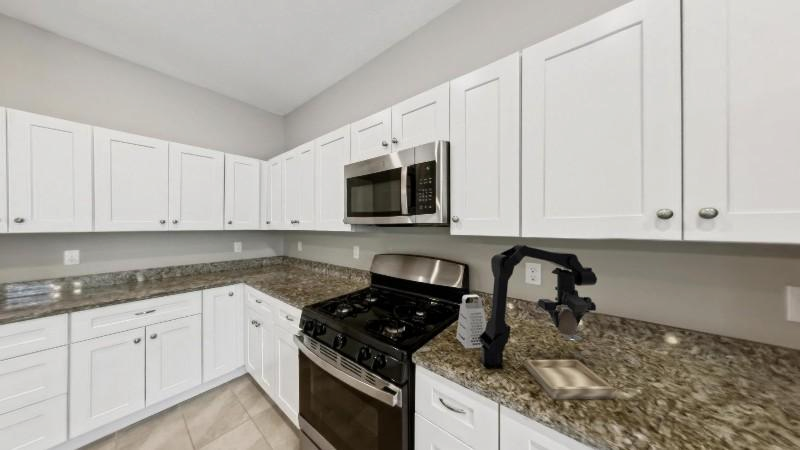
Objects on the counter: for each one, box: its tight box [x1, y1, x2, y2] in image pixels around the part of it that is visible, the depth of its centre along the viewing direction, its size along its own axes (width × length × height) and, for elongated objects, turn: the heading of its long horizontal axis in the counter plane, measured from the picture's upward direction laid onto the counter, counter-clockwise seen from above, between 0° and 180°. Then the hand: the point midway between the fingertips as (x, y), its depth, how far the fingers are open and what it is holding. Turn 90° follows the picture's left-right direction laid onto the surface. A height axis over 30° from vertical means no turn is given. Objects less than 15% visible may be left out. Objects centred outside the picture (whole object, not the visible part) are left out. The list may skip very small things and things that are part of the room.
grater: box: [455, 294, 487, 350], centre depth 111 cm, size 10×10×20 cm
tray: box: [525, 359, 616, 400], centre depth 82 cm, size 18×16×3 cm
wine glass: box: [561, 304, 583, 341], centre depth 115 cm, size 8×8×15 cm
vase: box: [556, 309, 578, 335], centre depth 97 cm, size 7×7×9 cm
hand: (566, 327), depth 97 cm, fingers closed on vase, 7 cm apart
